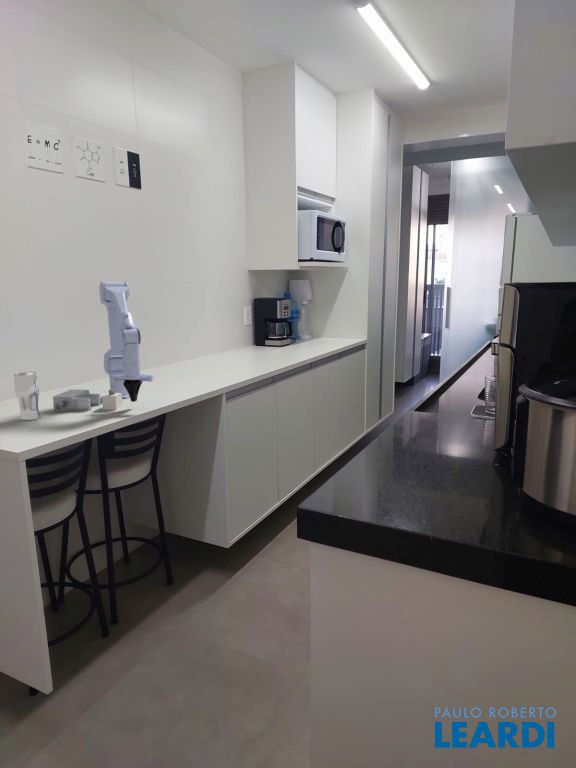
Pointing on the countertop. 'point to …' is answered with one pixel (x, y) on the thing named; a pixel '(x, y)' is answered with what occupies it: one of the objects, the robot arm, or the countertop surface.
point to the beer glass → (27, 395)
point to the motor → (75, 400)
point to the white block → (112, 400)
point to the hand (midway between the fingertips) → (134, 401)
